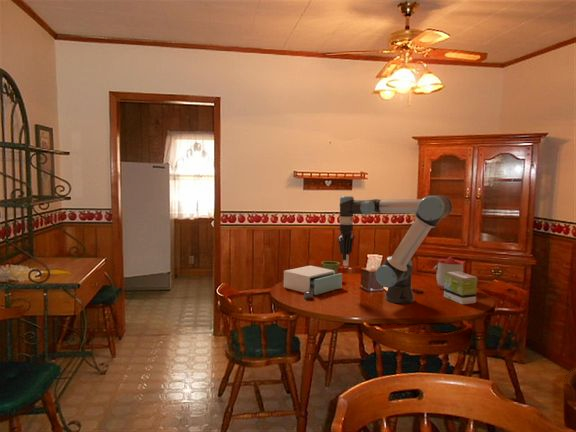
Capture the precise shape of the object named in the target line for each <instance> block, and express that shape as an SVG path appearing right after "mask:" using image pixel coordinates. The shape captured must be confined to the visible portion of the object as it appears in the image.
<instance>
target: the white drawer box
mask: <svg viewBox="0 0 576 432" xmlns="http://www.w3.org/2000/svg"><path fill="white" fill-rule="evenodd" d="M331 275H335V271H334V270H330V269H325V268H323V267H320V266H316V265H315V266H314V265H306V266H302V267H297V268H292V269H286V270H283V288H284V289H285V288H286V289H289V290H291V291H292V290H293V291H296V292H301V293H304V292H305V291H310V278H313V279H319V278H323V277H327V276H331ZM313 294H314V292H313Z"/></svg>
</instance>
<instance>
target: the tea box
mask: <svg viewBox="0 0 576 432" xmlns="http://www.w3.org/2000/svg"><path fill="white" fill-rule="evenodd" d="M477 289H478V276H474V275H471V274H468V273H465V272H463V273H462V272H459V271H456V272H445V284H444V290H443V297H444V298H445V299H449V300H452V301H453V302H456V303H458V304H460V305H469V304H475V303H476V302H477V292H478V291H477Z"/></svg>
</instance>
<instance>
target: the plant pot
mask: <svg viewBox="0 0 576 432" xmlns="http://www.w3.org/2000/svg"><path fill="white" fill-rule="evenodd" d="M320 263H321V264H322V265H321V266H322V268H325V269H330V270H334V271H335V274H338V269H339V266H340V264H341V263H340V262H338V261H333V260H328V261H327V260H326V261H321V262H320Z"/></svg>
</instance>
